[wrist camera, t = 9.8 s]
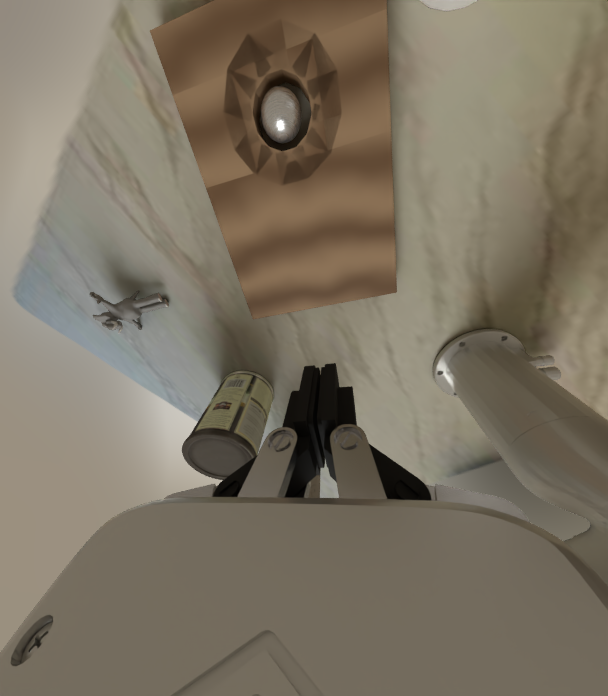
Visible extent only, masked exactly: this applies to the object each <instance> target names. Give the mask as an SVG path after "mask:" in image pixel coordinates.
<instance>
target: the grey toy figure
mask: <svg viewBox="0 0 608 696" xmlns="http://www.w3.org/2000/svg"><path fill="white" fill-rule="evenodd" d="M138 293H139V291H137V292H136V293H135V294H134V295H133V296H132V297H131V298H126V299H124V300H123V301H121V302H119V303H117V304H112V303H110V302H108V301H106V300H104V299H103V298H102V297H101V296H99V295H97V294H95V293H94V292H91V293H90V295H91V297H92V298H94V300H96V301H97V303H98V304H99V303H100V302H101V303H103V305H104V306H105V307H106V308H107V309H108V311H109V312H105V313H102V314H101V315H93V317H94V319H96V320H98V321H100V322H101V323H102V325H103V326H104V327H105V328H108V329H109V330H116V329H118V328H120V329H119V333H120V332H121V330H122V328H123V325H122V323H121V322H120V321H117V320H118V319H120V320H125V321H128V322H130V323H132V324H134V325H135V326H136V327H138V329H139V330H142V326H141V325H140V323H138V322H136V321H135V320H134V319H137V318H139V317H140V316H141V315H142V313H144V312H149V311H153V310H156V309H159V308H164V307H169V304H168V301H167V300H166V299H163V300H162V298H161V295H160V294H159V293H156V294H154V295H151V296H149V297H147V298H143V299H139V300H136V299H135V298H136V296H137V294H138Z"/></svg>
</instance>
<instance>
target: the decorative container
mask: <svg viewBox="0 0 608 696" xmlns="http://www.w3.org/2000/svg"><path fill="white" fill-rule="evenodd" d="M419 1H421V2H422V3H423V4H425V5H426V6H427V7H429V8H432V9H437V10H442V11H451V10H456V9H461V8H465V7H467V6H469V5H471V4H472V3H474V2H476V1H478V0H419Z"/></svg>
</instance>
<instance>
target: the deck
mask: <svg viewBox="0 0 608 696" xmlns="http://www.w3.org/2000/svg"><path fill="white" fill-rule="evenodd" d="M150 33H151V35H152V38H153V41H154V44H155V47H156V49H157V52H158V55H159V58H160V61H161V63H162V66H163V69H164V72H165V75H166V77H167V80H168V83H169V86H170V89H171V91H172V94H173V97H174V100H175V103H176V105H177V108H178V111H179V114H180V117H181V119H182V122H183V125H184V128H185V131H186V133H187V136H188V139H189V142H190V144H191V147H192V150H193V153H194V156H195V158H196V161H197V164H198V167H199V170H200V172H201V175H202V178H203V181H204V184H205V186H206V189H207V192H208V195H209V198H210V200H211V203H212V206H213V209H214V212H215V214H216V217H217V220H218V223H219V226H220V228H221V231H222V234H223V237H224V240H225V242H226V245H227V248H228V251H229V254H230V256H231V259H232V262H233V265H234V267H235V270H236V273H237V276H238V279H239V281H240V284H241V287H242V290H243V293H244V295H245V298H246V301H247V304H248V307H249V309H250V312H251V315H252V318H253V319H257V318H263V317H268V316H273V315H279V314H284V313H289V312H295V311H300V310H305V309H311V308H316V307H321V306H327V305H332V304H337V303H343V302H348V301H353V300H359V299H364V298H369V297H375V296H380V295H385V294H391V293H396V292H397V285H396V256H395V228H394V199H393V171H392V143H391V114H390V86H389V57H388V29H387V0H214V1H211V2H209V3H207V4H205V5H203V6H201V7H199V8H197V9H195V10H192V11H190V12H188V13H186V14H184V15H182V16H180V17H178V18H176V19H173V20H171V21H169V22H167V23H165V24H163V25H161V26H159V27H157V28H154V29H152V30H150ZM285 82H286V83H288V84H291V85H293V86H296V87H298V88H300V89H301V90H302V92H303V93H304V95H305V96H306V98H307V99H308V101H309V102H310V106H311V112H312V114H311V119H310V123H309V127H308V131H307V134H306V135H305V137H304V138H303V139H302V140H301V142H300V143H299V144H298V145H297V147H295V148H292V149H288V150H285V151H279V150H277V149H274V148H271V147H269V146H268V145H267V143H266V142H265V141H264V140H263V136H262V132H261V128H260V124H259V117H260V110H261V104H262V101H263V99H264V97H265V95H266V93H267V92H268V91H269V90H270V89H271V88H272V87H275V86H278V85H280V84H283V83H285Z"/></svg>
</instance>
